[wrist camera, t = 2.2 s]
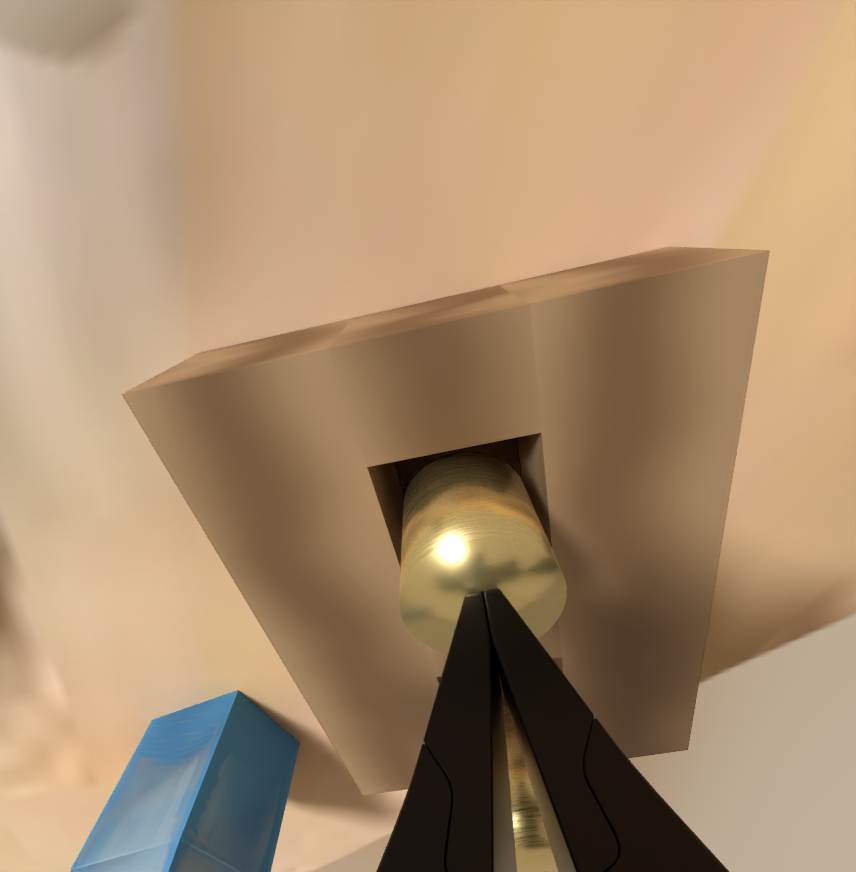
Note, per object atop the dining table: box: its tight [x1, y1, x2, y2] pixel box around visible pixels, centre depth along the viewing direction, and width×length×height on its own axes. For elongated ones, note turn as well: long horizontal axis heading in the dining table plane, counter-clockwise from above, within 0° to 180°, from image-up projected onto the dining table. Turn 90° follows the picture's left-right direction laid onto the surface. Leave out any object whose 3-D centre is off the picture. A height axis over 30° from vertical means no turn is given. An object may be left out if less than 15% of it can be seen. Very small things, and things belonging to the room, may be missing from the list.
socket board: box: [122, 247, 769, 795], centre depth 16 cm, size 16×22×4 cm
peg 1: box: [399, 452, 567, 654], centre depth 11 cm, size 4×4×4 cm
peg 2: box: [503, 705, 558, 872], centre depth 14 cm, size 4×4×4 cm
